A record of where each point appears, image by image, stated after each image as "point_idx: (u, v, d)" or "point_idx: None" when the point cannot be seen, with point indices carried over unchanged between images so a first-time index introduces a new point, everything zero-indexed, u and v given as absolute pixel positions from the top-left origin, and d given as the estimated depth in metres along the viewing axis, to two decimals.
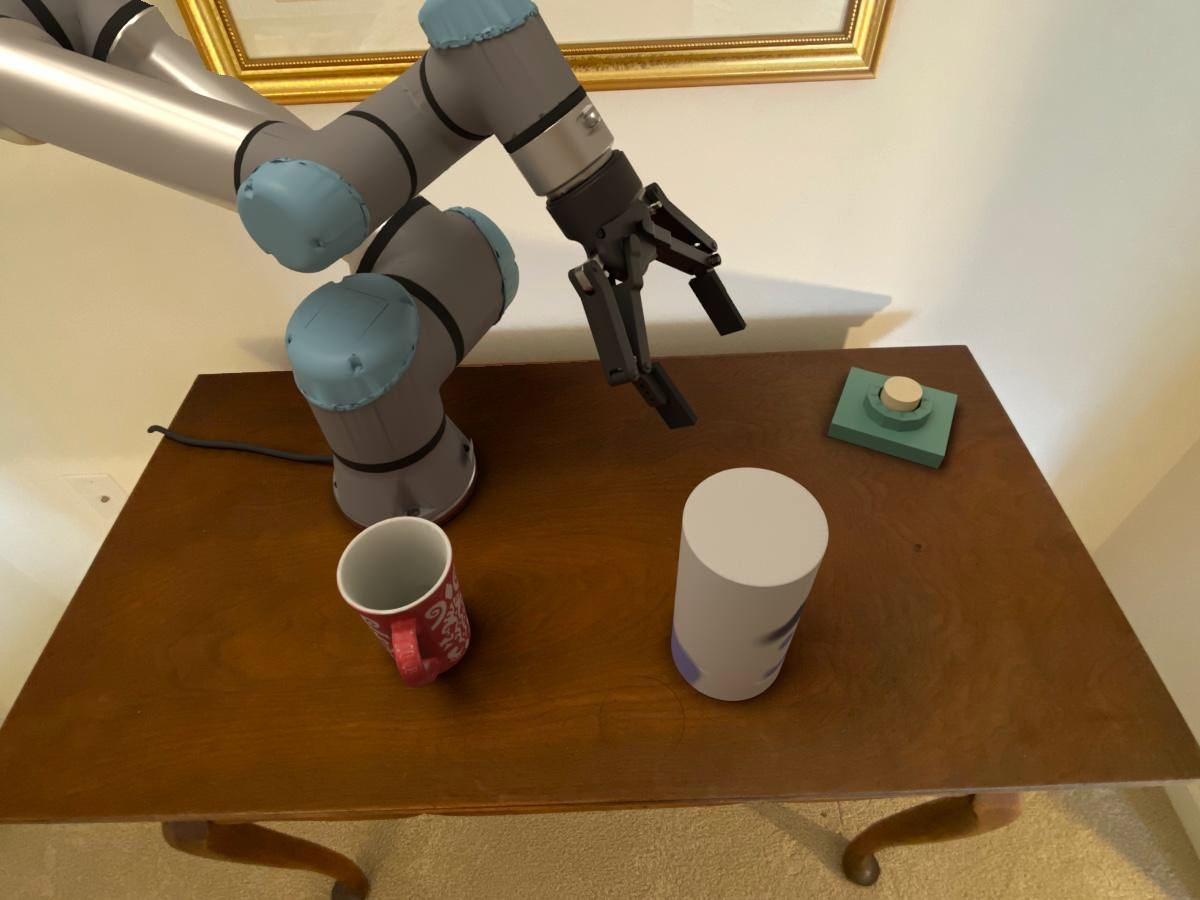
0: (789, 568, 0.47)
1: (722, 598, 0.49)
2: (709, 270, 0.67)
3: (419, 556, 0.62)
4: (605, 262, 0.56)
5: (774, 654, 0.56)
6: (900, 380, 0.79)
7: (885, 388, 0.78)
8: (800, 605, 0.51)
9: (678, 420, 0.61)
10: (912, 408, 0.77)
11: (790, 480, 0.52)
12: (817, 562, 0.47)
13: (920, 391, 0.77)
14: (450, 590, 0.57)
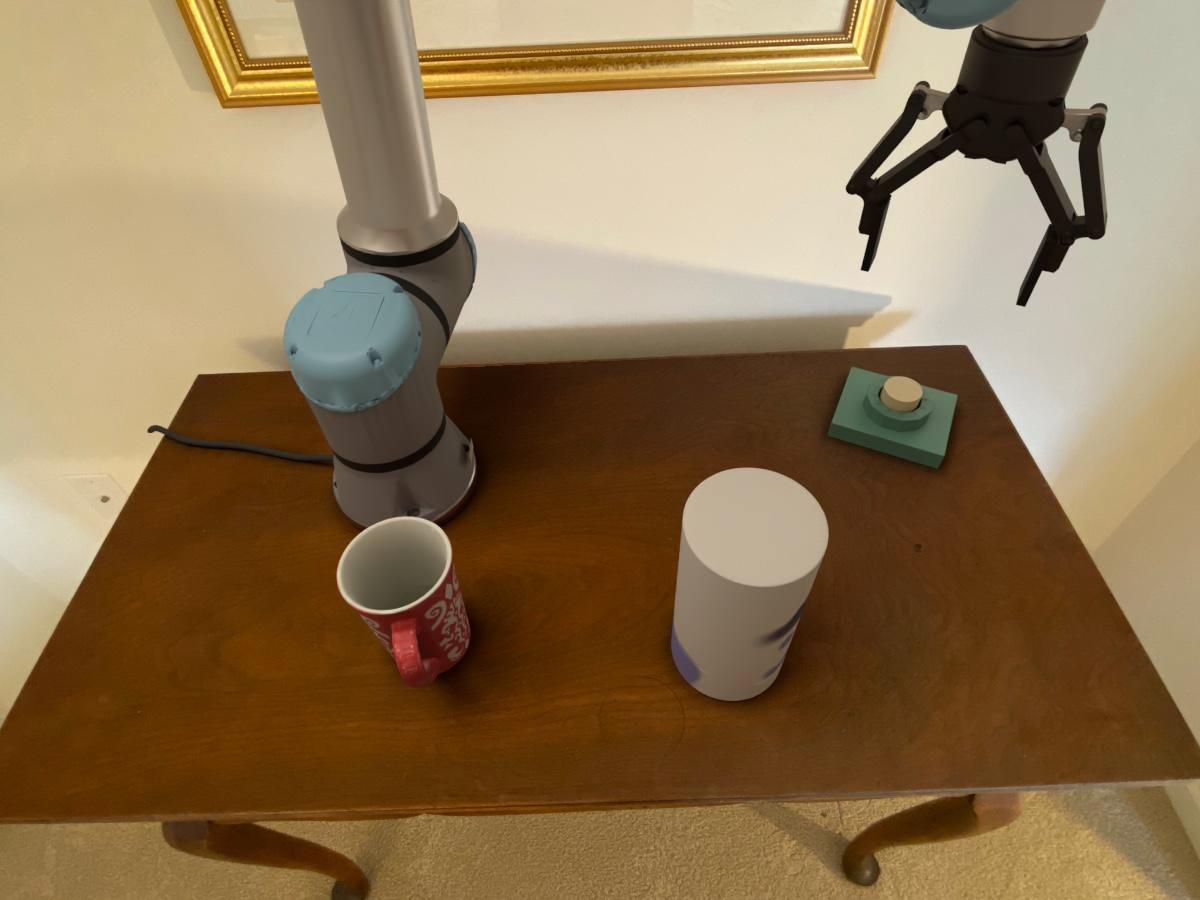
0: (789, 568, 0.47)
1: (722, 599, 0.49)
2: None
3: (419, 556, 0.62)
4: None
5: (774, 654, 0.56)
6: (900, 380, 0.79)
7: (885, 388, 0.78)
8: (800, 605, 0.51)
9: None
10: (912, 408, 0.77)
11: (790, 480, 0.52)
12: (817, 562, 0.47)
13: (920, 391, 0.77)
14: (450, 590, 0.57)
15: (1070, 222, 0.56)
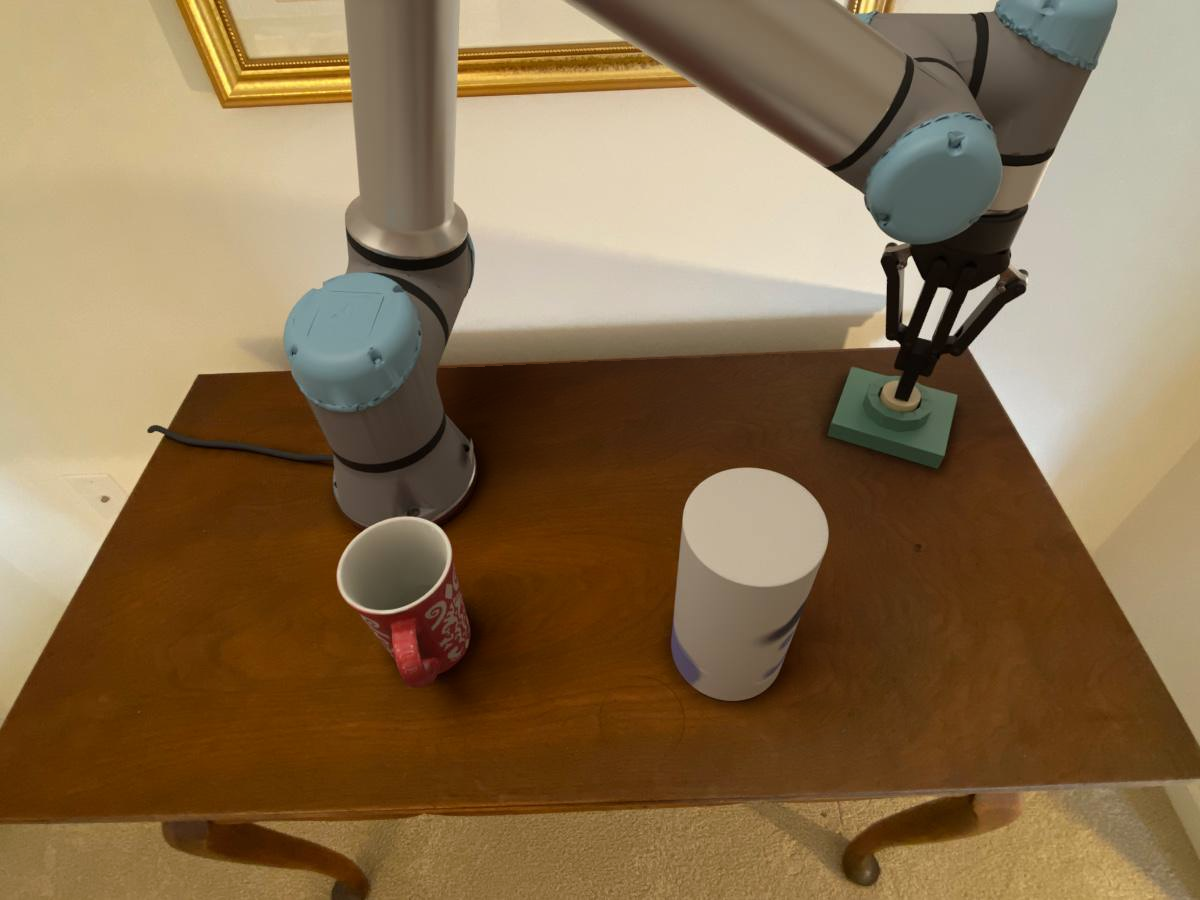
0: (789, 568, 0.47)
1: (722, 599, 0.49)
2: None
3: (419, 556, 0.62)
4: None
5: (774, 654, 0.56)
6: None
7: (883, 392, 0.78)
8: (800, 605, 0.51)
9: None
10: None
11: (790, 480, 0.52)
12: (817, 562, 0.47)
13: (918, 395, 0.78)
14: (450, 590, 0.57)
15: (943, 345, 0.71)
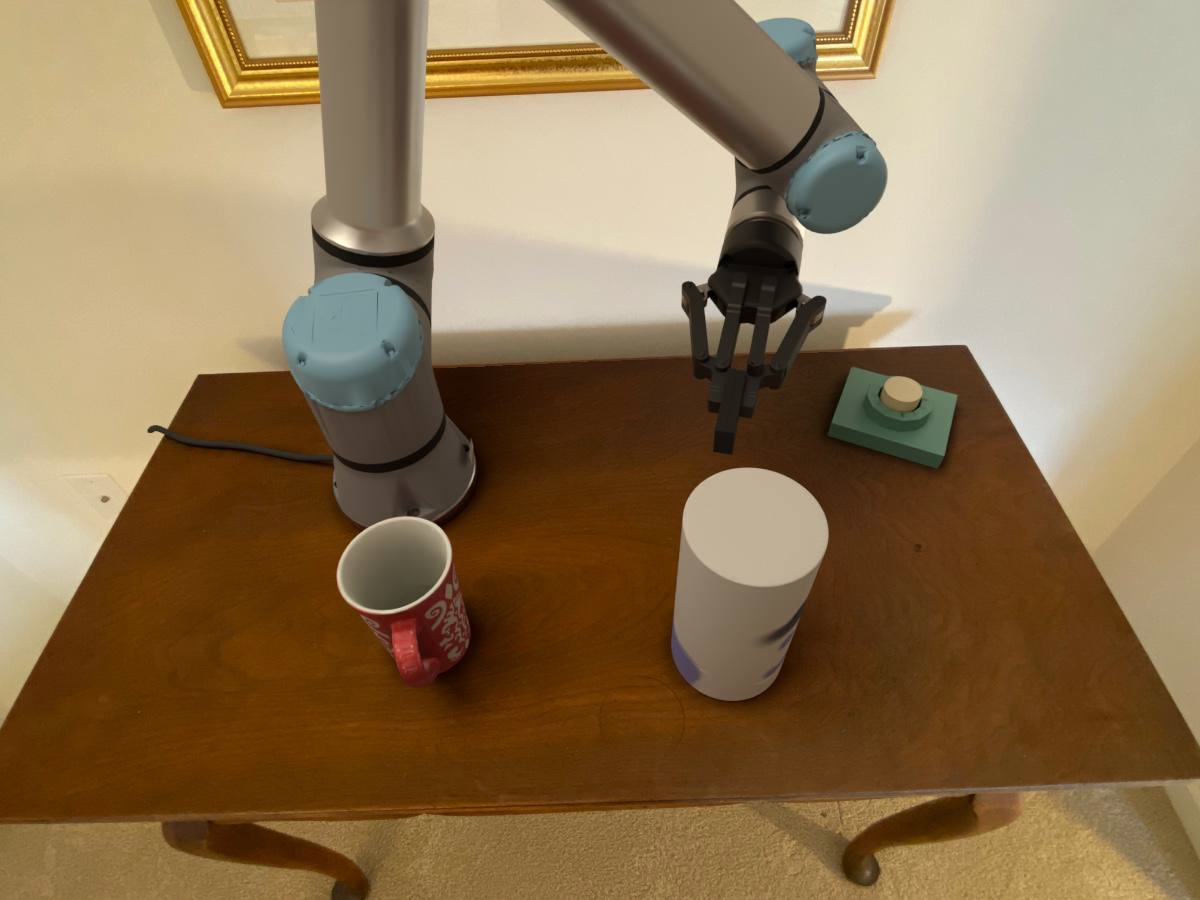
0: (789, 568, 0.47)
1: (722, 599, 0.49)
2: None
3: (419, 556, 0.62)
4: None
5: (774, 654, 0.56)
6: (900, 380, 0.79)
7: (885, 388, 0.78)
8: (800, 605, 0.51)
9: None
10: (912, 408, 0.77)
11: (790, 480, 0.52)
12: (817, 562, 0.47)
13: (920, 391, 0.77)
14: (450, 590, 0.57)
15: (763, 359, 0.58)
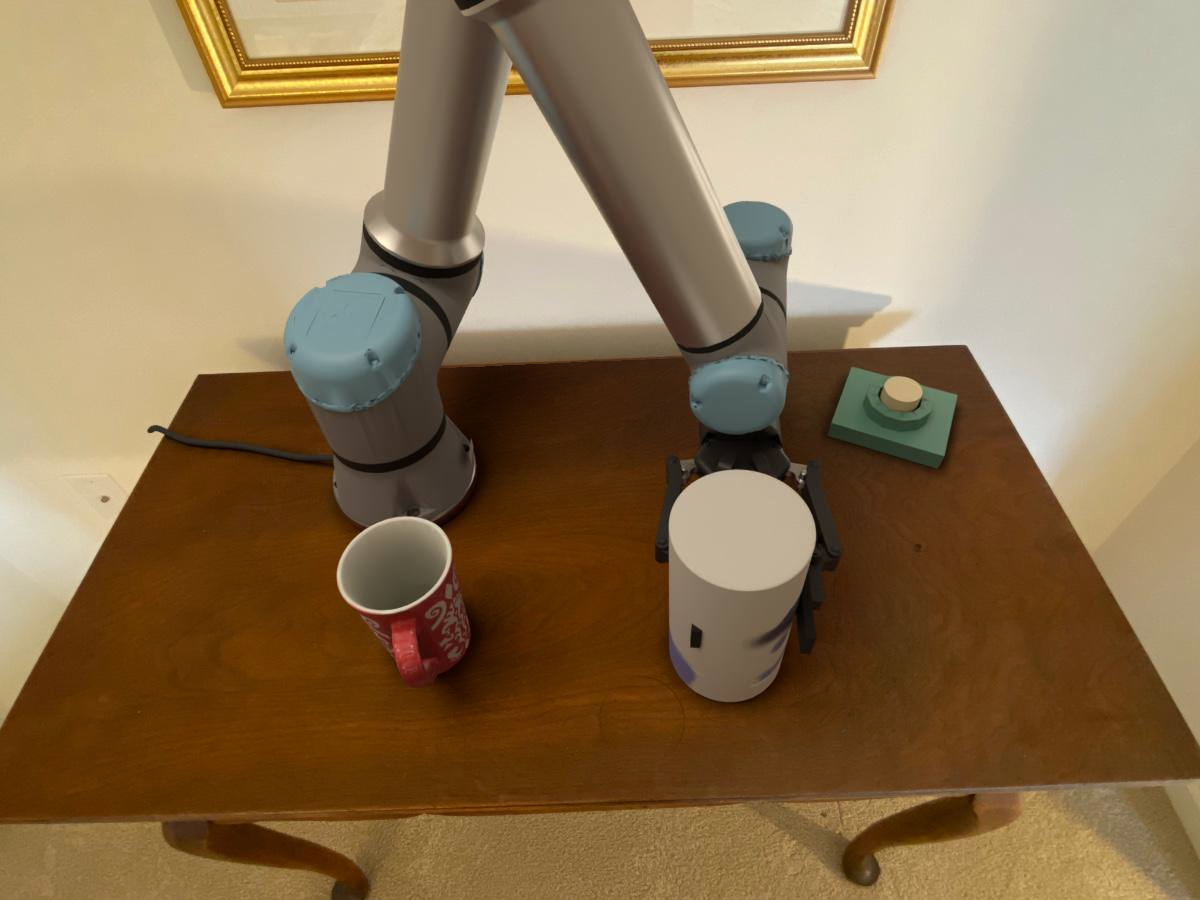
0: (773, 572, 0.46)
1: (707, 602, 0.49)
2: None
3: (419, 556, 0.62)
4: (786, 477, 0.64)
5: (767, 657, 0.55)
6: (900, 380, 0.79)
7: (885, 388, 0.78)
8: (789, 609, 0.51)
9: None
10: (912, 408, 0.77)
11: (779, 482, 0.51)
12: (803, 566, 0.47)
13: (920, 391, 0.77)
14: (450, 590, 0.57)
15: None
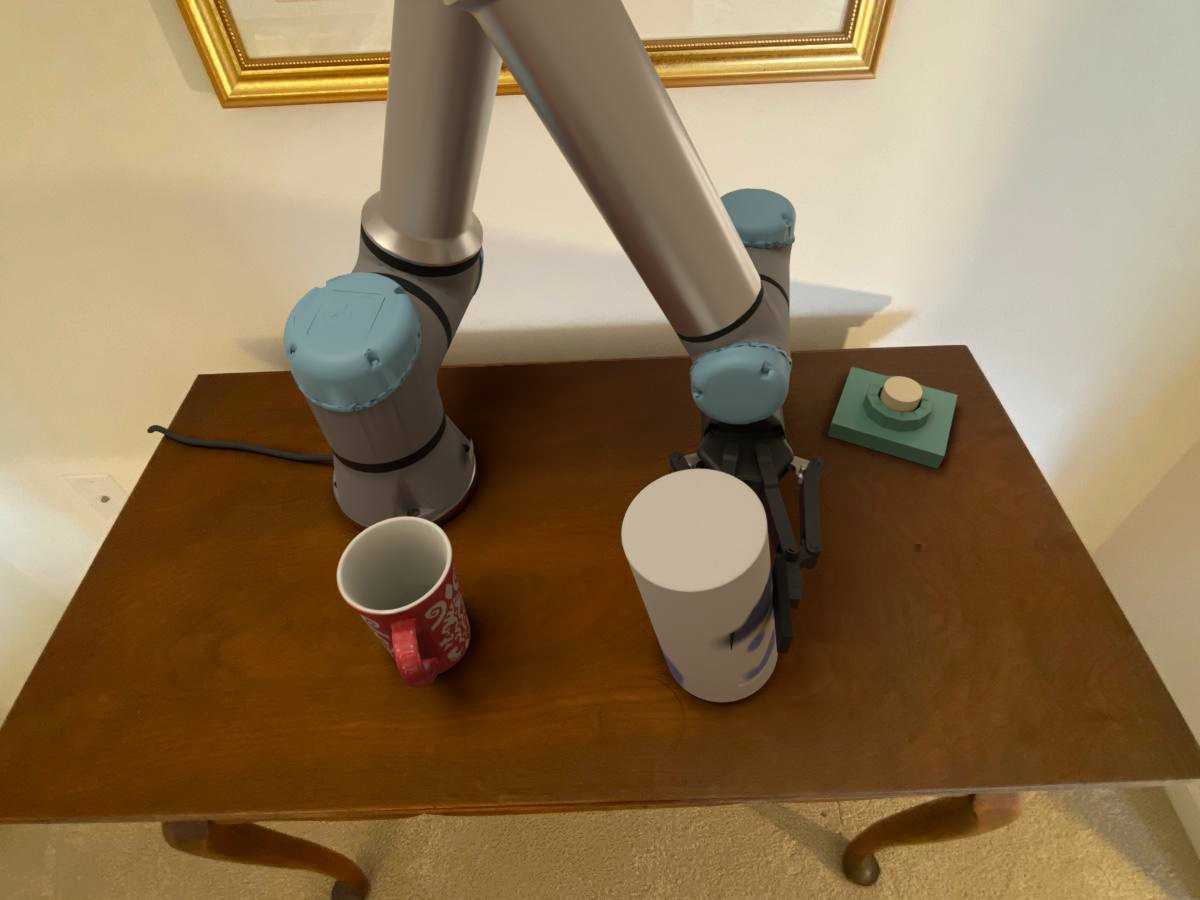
0: (719, 571, 0.46)
1: (662, 603, 0.49)
2: None
3: (419, 556, 0.62)
4: (788, 470, 0.63)
5: (744, 656, 0.54)
6: (900, 380, 0.79)
7: (885, 388, 0.78)
8: (751, 607, 0.50)
9: None
10: (912, 408, 0.77)
11: (735, 479, 0.50)
12: (750, 564, 0.46)
13: (920, 391, 0.77)
14: (450, 590, 0.57)
15: (795, 541, 0.56)
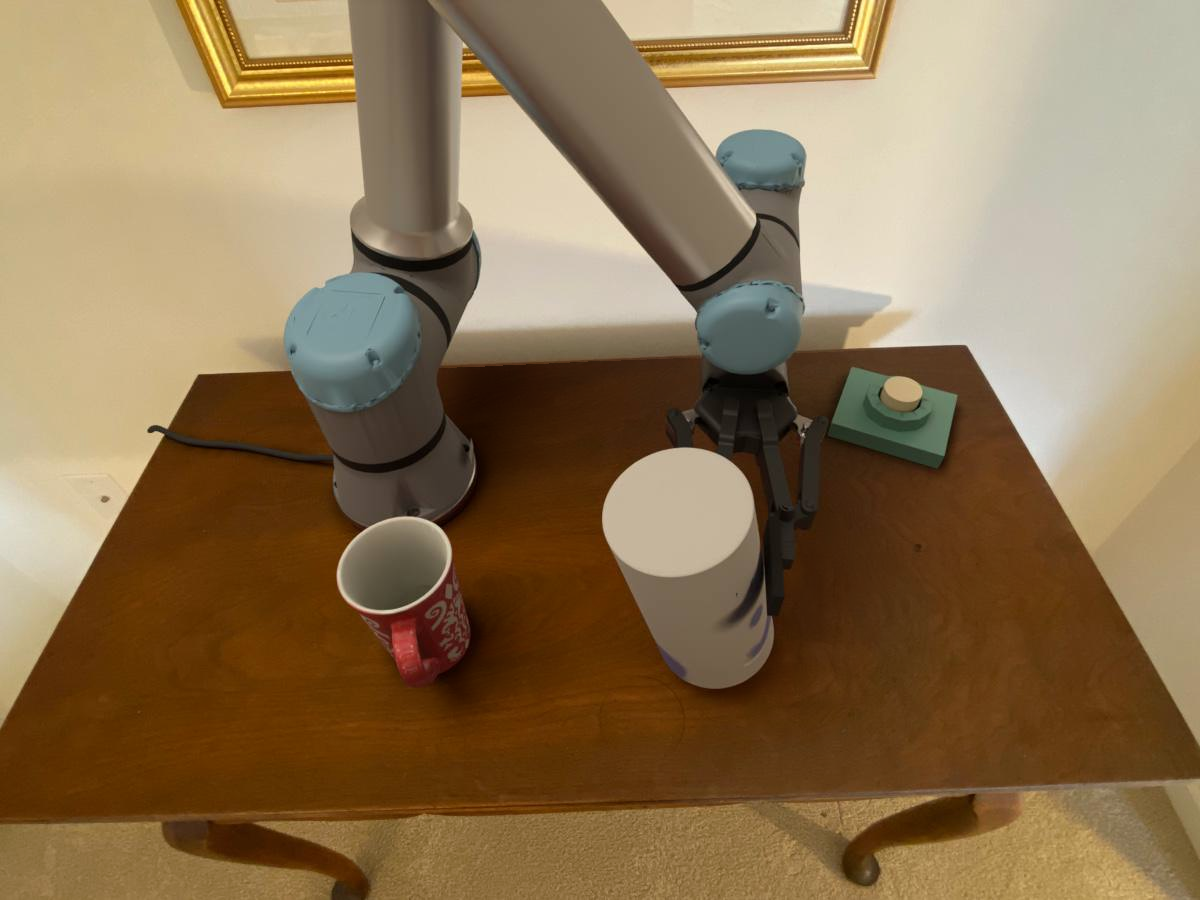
0: (715, 548, 0.44)
1: (660, 594, 0.46)
2: None
3: (419, 556, 0.62)
4: (790, 429, 0.59)
5: (747, 633, 0.52)
6: (900, 380, 0.79)
7: (885, 388, 0.78)
8: (749, 580, 0.48)
9: None
10: (912, 408, 0.77)
11: (708, 453, 0.48)
12: (744, 535, 0.44)
13: (920, 391, 0.77)
14: (450, 590, 0.57)
15: (790, 499, 0.52)
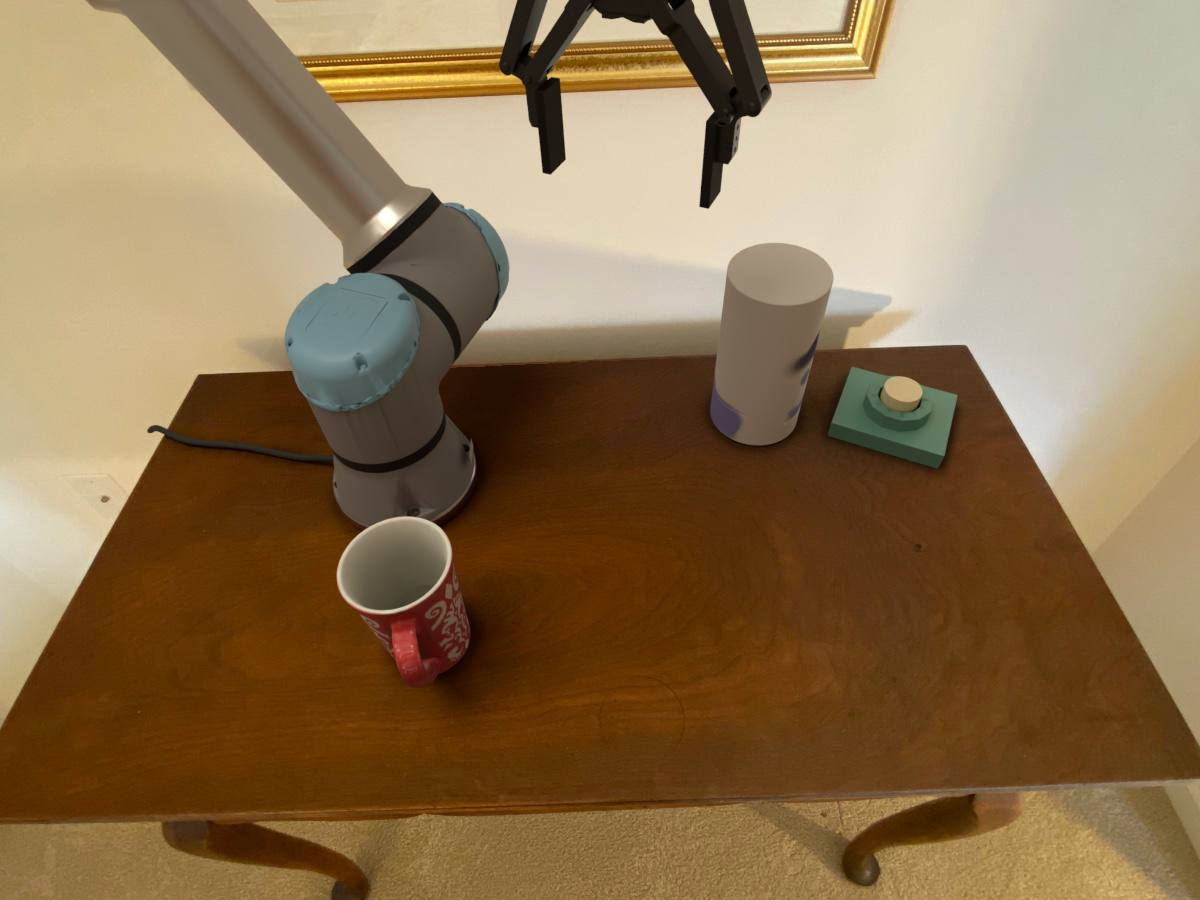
0: (810, 292, 0.66)
1: (763, 327, 0.67)
2: None
3: (419, 556, 0.62)
4: None
5: (797, 388, 0.74)
6: (900, 380, 0.79)
7: (885, 388, 0.78)
8: (816, 334, 0.70)
9: (715, 190, 0.54)
10: (912, 408, 0.77)
11: (798, 246, 0.71)
12: (829, 288, 0.66)
13: (920, 391, 0.77)
14: (450, 590, 0.57)
15: (724, 96, 0.48)
